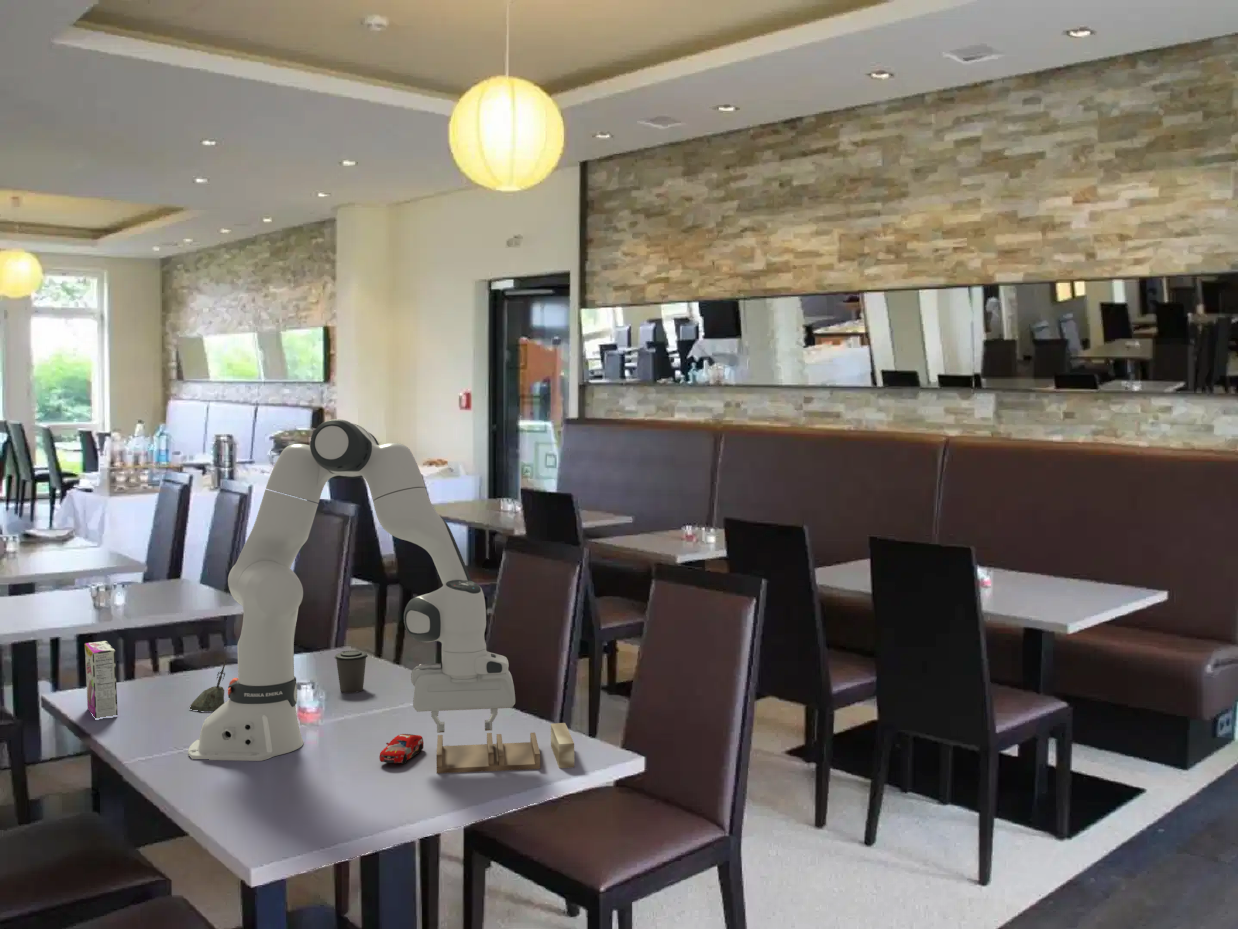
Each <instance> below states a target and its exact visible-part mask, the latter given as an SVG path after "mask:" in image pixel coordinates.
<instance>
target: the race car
mask: <svg viewBox="0 0 1238 929" xmlns="http://www.w3.org/2000/svg"><path fill="white" fill-rule="evenodd" d="M385 744H386V745H387V746H385V747H384V748H383V750H381V751H380V752H379V761H380V763H385V764H386V763H387V764H401V765H405V764H406V763H407V761H408V760H411V758H413V757H414V756H416V755H417V754H421V753H422V750H424V738H423V736H422V735H419V734H412V733H400V734H398V735H396V736H395V737H394V738H392V739H391V740H390V742H385Z"/></svg>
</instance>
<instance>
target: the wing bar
mask: <svg viewBox="0 0 1238 929" xmlns="http://www.w3.org/2000/svg"><path fill="white" fill-rule="evenodd" d="M568 728H569V727H568V726H567V724H566V722H557V723H550V748H551V750H552V752H553V755H554V758H555V761H556V764H557V766H558V768H559V769H568V768H569V769H570V768H575V742H574V740H573V737H572V735H571V733H570V731H569V729H568Z"/></svg>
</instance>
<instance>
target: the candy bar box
mask: <svg viewBox="0 0 1238 929" xmlns="http://www.w3.org/2000/svg"><path fill="white" fill-rule="evenodd" d="M84 655H85V656H84V657H85V677H86V680H85V681H86V683H85V684H86V699H87V700H86V701H87V703H86V704H87V710H88V709H89V711H90V712H91V713H92V714H93V716H94V717H95V718H100V717H106V716H113V715H118V690H117V689H118V688H117V668H116V650H115V649H114V648H113V646H111V644H110V643H109V642H108V641H107V640H102V641H94V642H85V643H84ZM89 711H88V712H89Z"/></svg>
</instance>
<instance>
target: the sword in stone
mask: <svg viewBox="0 0 1238 929" xmlns="http://www.w3.org/2000/svg"><path fill="white" fill-rule="evenodd" d="M227 661H228V658H227V657H225V658H224V661H223V665H222V669H221V670H220V671H218V672H217V675H216V676H217V677H216V679H217V684H216V686H215V685H214V686H211V687H209V688H207V689H205V690H202V692H201V693H200V694H199V695H198V696H197V697H196V698H195V699H193V700H194V701H192V703H191V704H190V706H191V707H190V706H189V707H190V709H192V710H198V711H215V710H217V709H218V708H219V707H220V706H221V705H223V704H224V703H225V698H224V697H225V689H224V687H223V686H220V683H221V680H222V682H223V680H224V679H225V676H226V672H224V670H225V667H226V663H227ZM222 675H223V676H222Z"/></svg>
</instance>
